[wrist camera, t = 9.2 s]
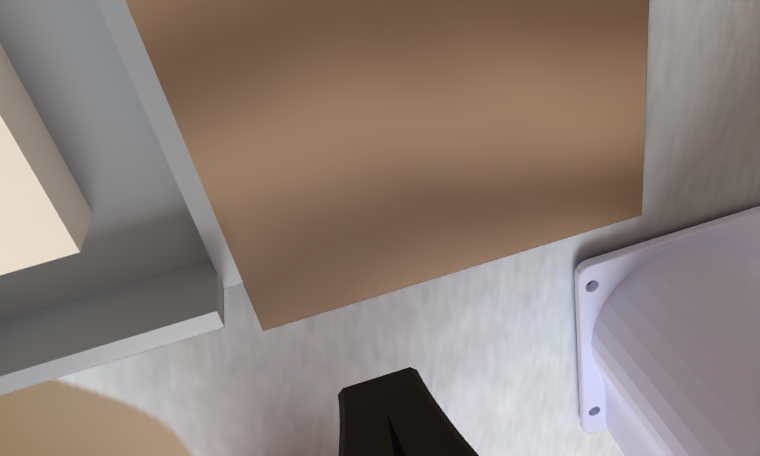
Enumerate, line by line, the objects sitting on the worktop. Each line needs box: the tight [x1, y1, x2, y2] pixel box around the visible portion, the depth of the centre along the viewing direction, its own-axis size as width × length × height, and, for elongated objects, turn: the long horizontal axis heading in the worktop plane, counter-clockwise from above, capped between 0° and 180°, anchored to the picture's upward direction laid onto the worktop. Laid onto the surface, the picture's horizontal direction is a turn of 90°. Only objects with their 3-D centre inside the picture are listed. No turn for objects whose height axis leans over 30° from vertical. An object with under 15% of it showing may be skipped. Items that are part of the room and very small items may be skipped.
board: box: [125, 0, 649, 331], centre depth 17 cm, size 16×13×1 cm
